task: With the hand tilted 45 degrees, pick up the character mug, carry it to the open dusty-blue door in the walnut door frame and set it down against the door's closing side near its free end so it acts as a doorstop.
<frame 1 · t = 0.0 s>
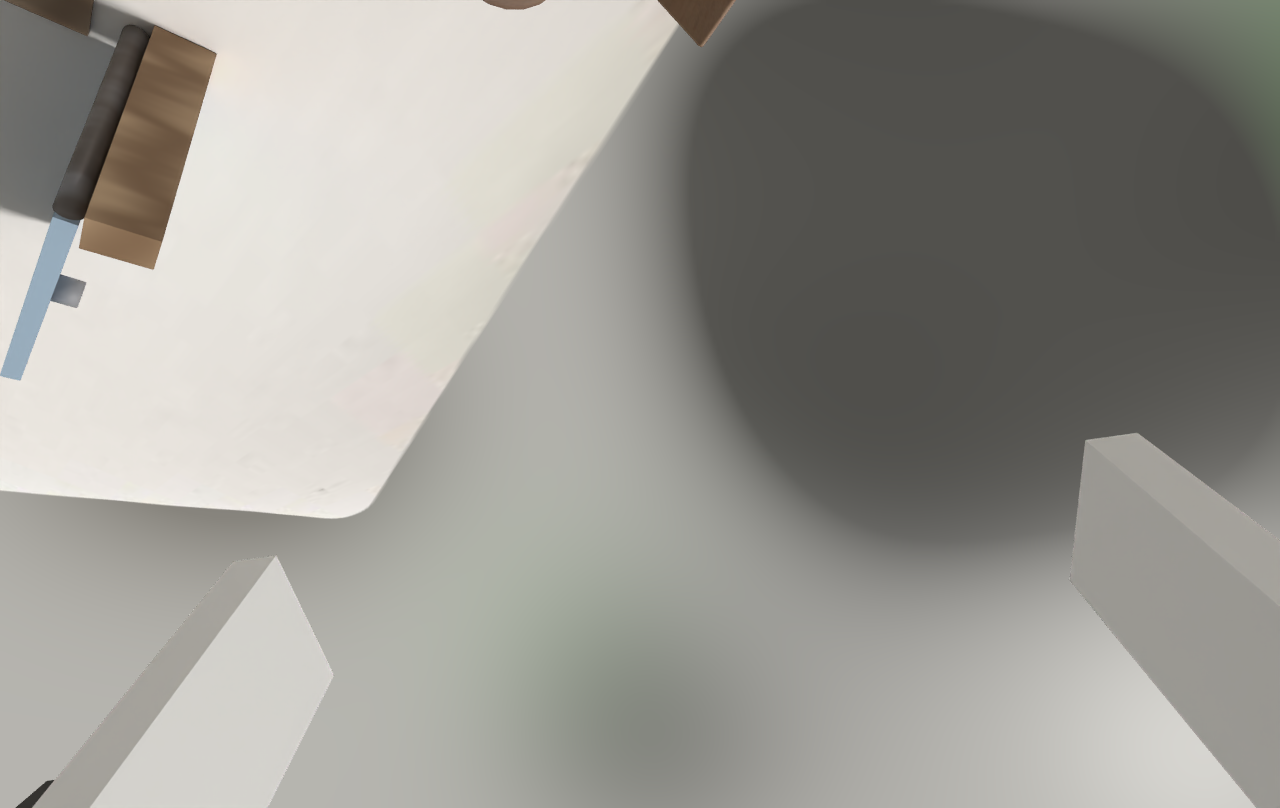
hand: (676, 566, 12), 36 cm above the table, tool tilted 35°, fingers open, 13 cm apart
door: (79, 233, 43), point 7 cm above the table, hinge at 85.0°
door frame: (136, 35, 39), on the table
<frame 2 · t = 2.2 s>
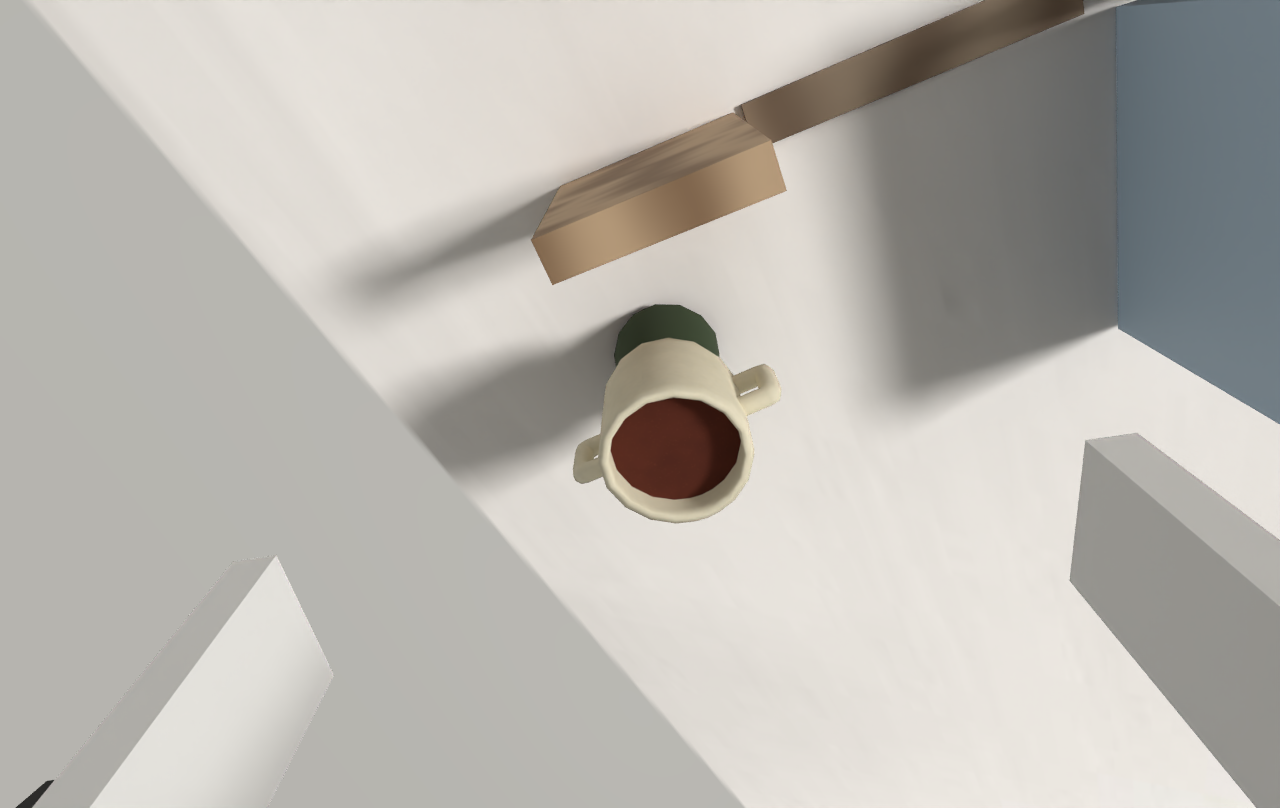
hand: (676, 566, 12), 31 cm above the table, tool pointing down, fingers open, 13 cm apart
character mug: (666, 348, 44), on the table
door: (1221, 198, 33), point 7 cm above the table, hinge at 85.0°
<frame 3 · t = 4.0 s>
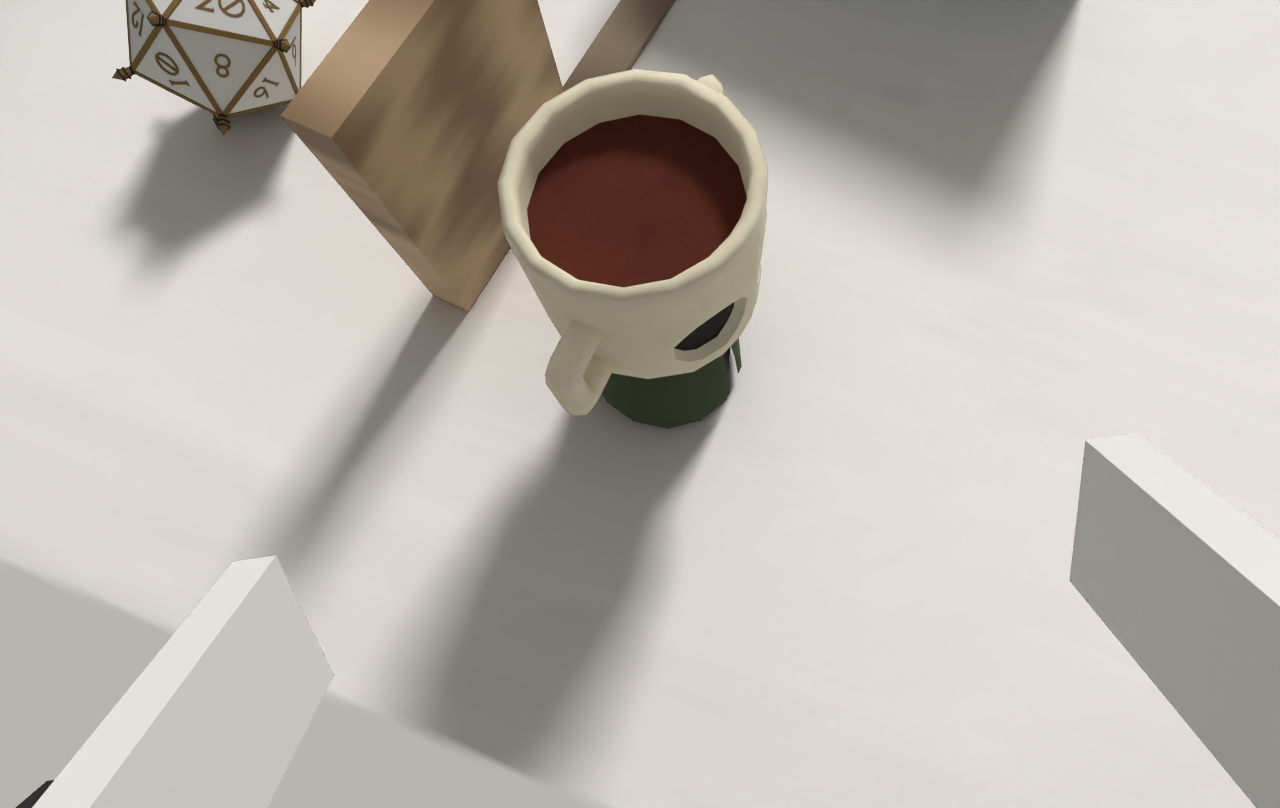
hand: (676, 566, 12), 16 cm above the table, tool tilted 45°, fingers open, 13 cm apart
game die: (271, 98, 38), on the table
character mug: (667, 363, 31), on the table
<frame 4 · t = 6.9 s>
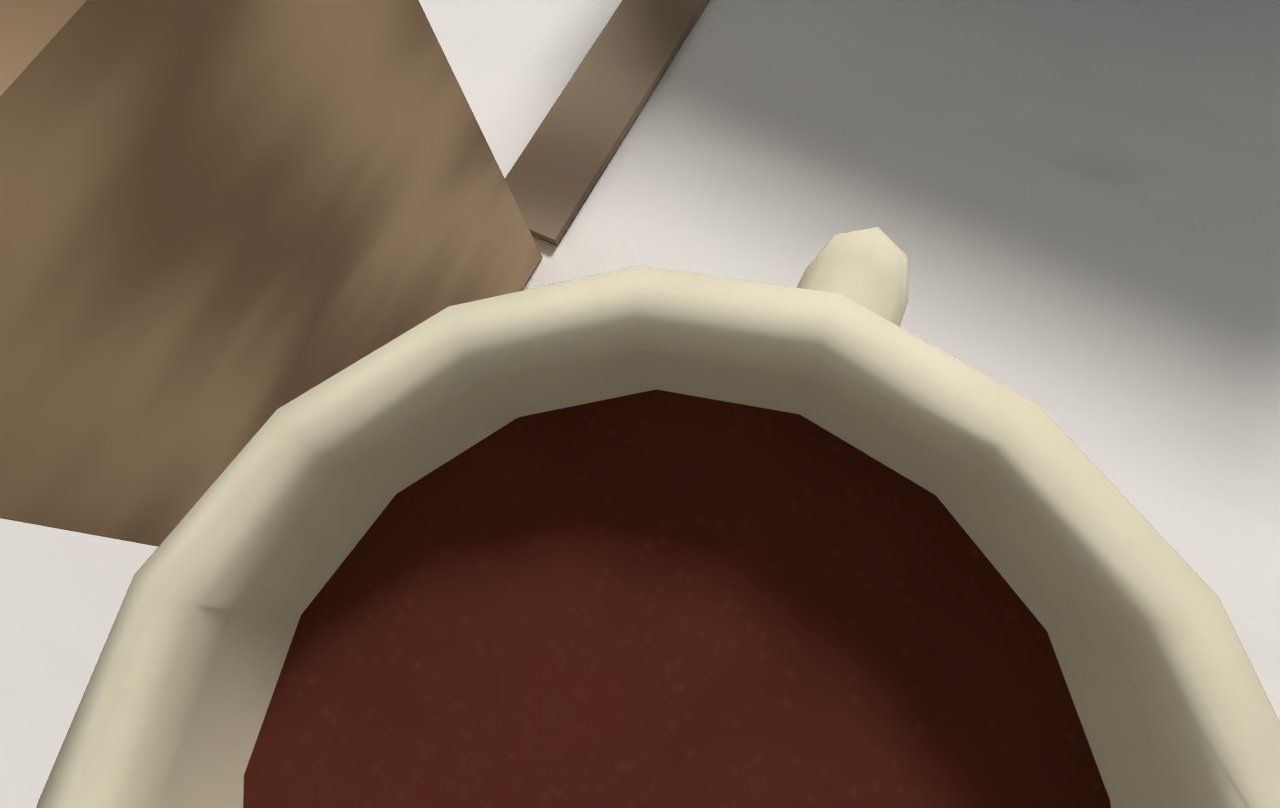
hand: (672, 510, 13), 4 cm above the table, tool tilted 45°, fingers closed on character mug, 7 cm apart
character mug: (708, 696, 16), on the table, touching gripper
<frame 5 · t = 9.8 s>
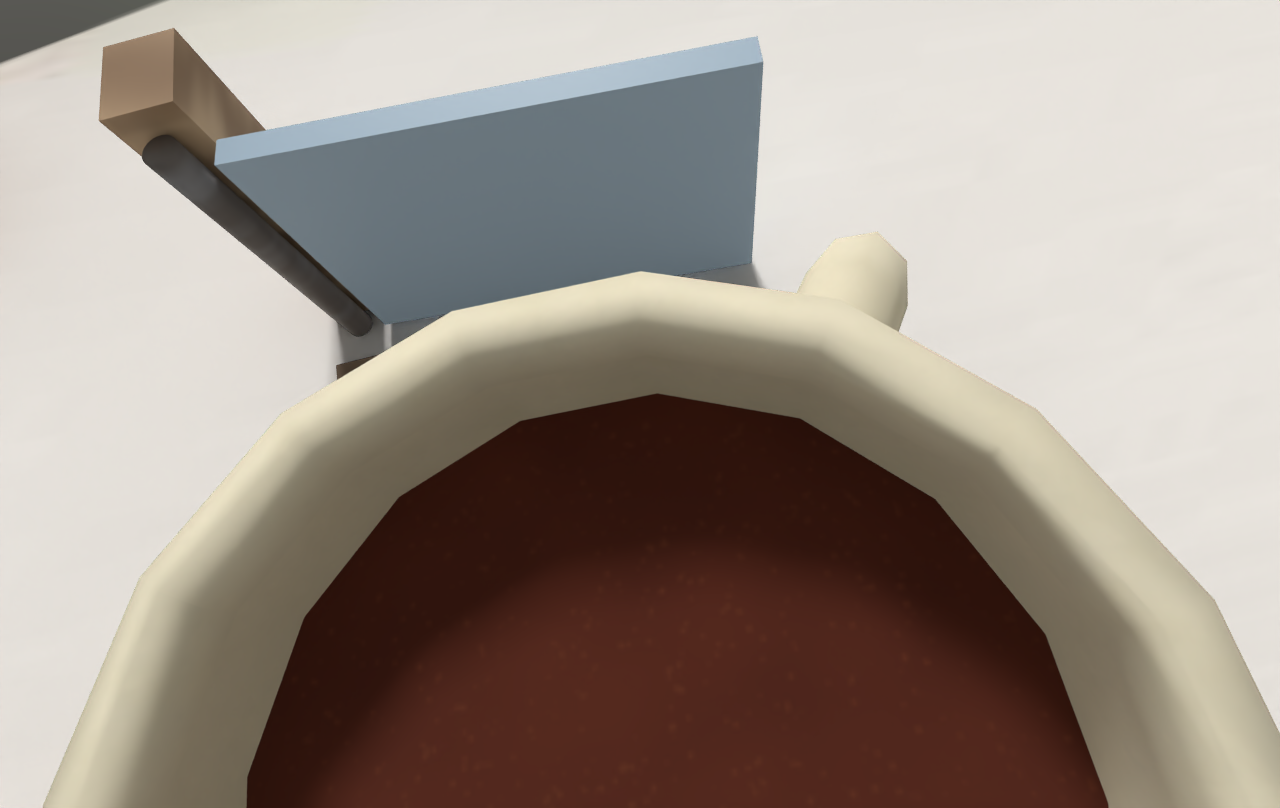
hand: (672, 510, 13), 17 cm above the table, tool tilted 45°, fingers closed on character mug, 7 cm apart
character mug: (708, 699, 16), point 12 cm above the table, touching gripper
door: (529, 196, 28), point 7 cm above the table, hinge at 85.0°
door frame: (360, 324, 35), on the table
when the fingers open (5 cm above the table, at t = 12.9 s): character mug drops 1 cm, on the table.
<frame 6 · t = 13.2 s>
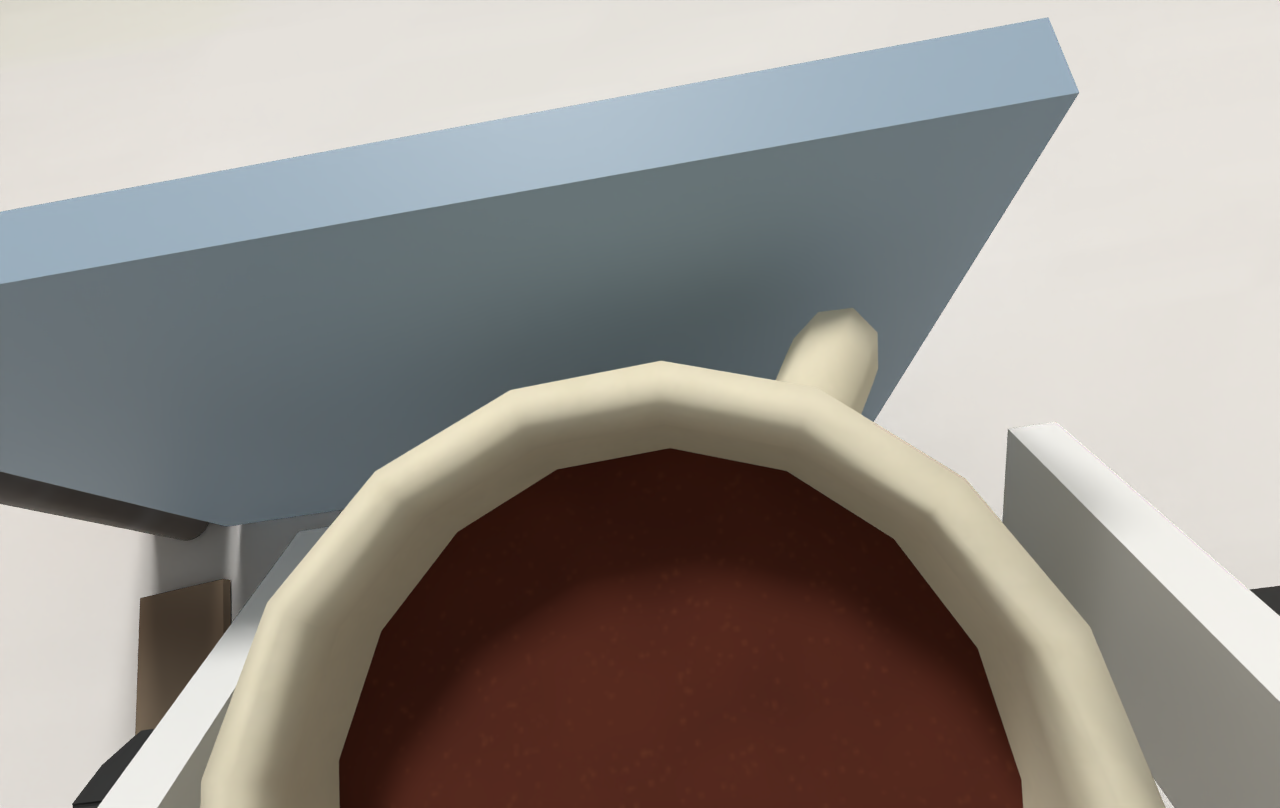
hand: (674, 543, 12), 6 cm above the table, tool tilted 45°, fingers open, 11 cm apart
character mug: (703, 697, 18), on the table
door: (451, 352, 14), point 7 cm above the table, hinge at 85.0°
door frame: (190, 519, 20), on the table
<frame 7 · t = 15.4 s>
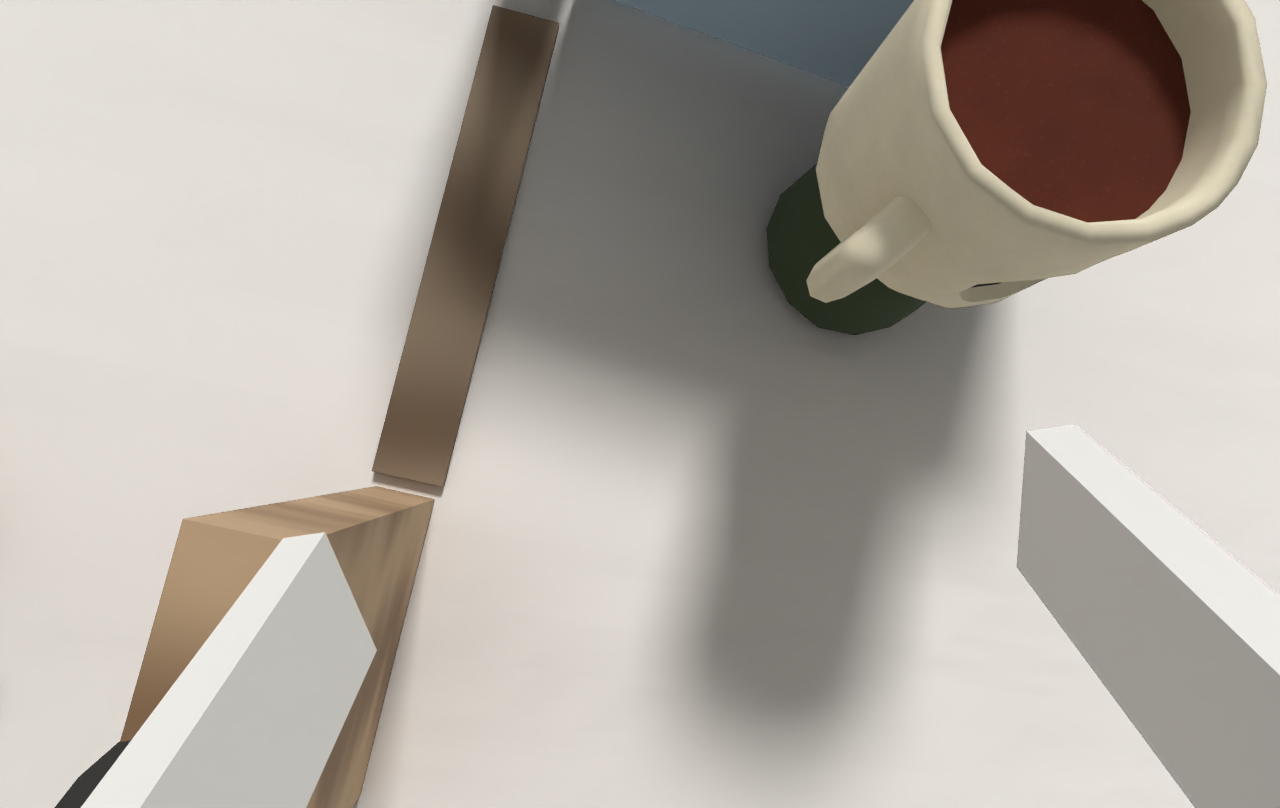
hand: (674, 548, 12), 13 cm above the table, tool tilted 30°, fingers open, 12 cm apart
character mug: (842, 254, 27), on the table
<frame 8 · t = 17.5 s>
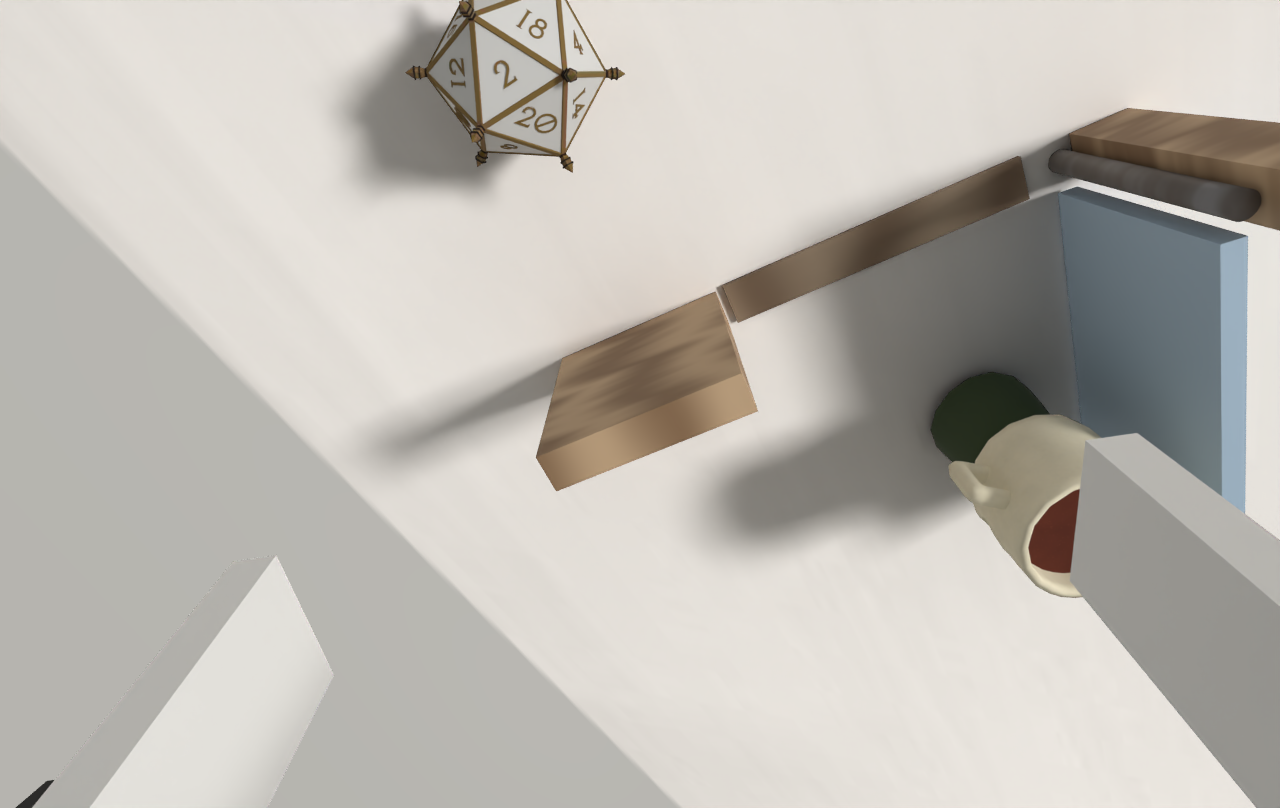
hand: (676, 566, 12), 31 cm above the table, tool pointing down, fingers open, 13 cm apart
game die: (530, 71, 37), on the table
character mug: (976, 413, 45), on the table
door: (1160, 370, 37), point 7 cm above the table, hinge at 85.0°
door frame: (1059, 161, 38), on the table
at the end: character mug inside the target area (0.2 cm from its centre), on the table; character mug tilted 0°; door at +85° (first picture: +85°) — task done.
